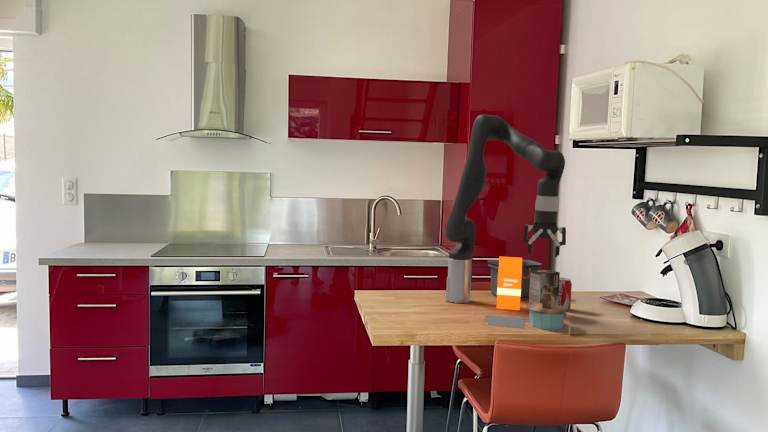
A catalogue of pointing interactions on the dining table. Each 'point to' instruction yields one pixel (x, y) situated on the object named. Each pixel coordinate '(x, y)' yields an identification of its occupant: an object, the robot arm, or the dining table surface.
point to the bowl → (546, 321)
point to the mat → (505, 321)
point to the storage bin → (525, 278)
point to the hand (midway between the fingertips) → (543, 255)
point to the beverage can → (565, 292)
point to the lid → (546, 306)
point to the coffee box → (544, 286)
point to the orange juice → (509, 283)
